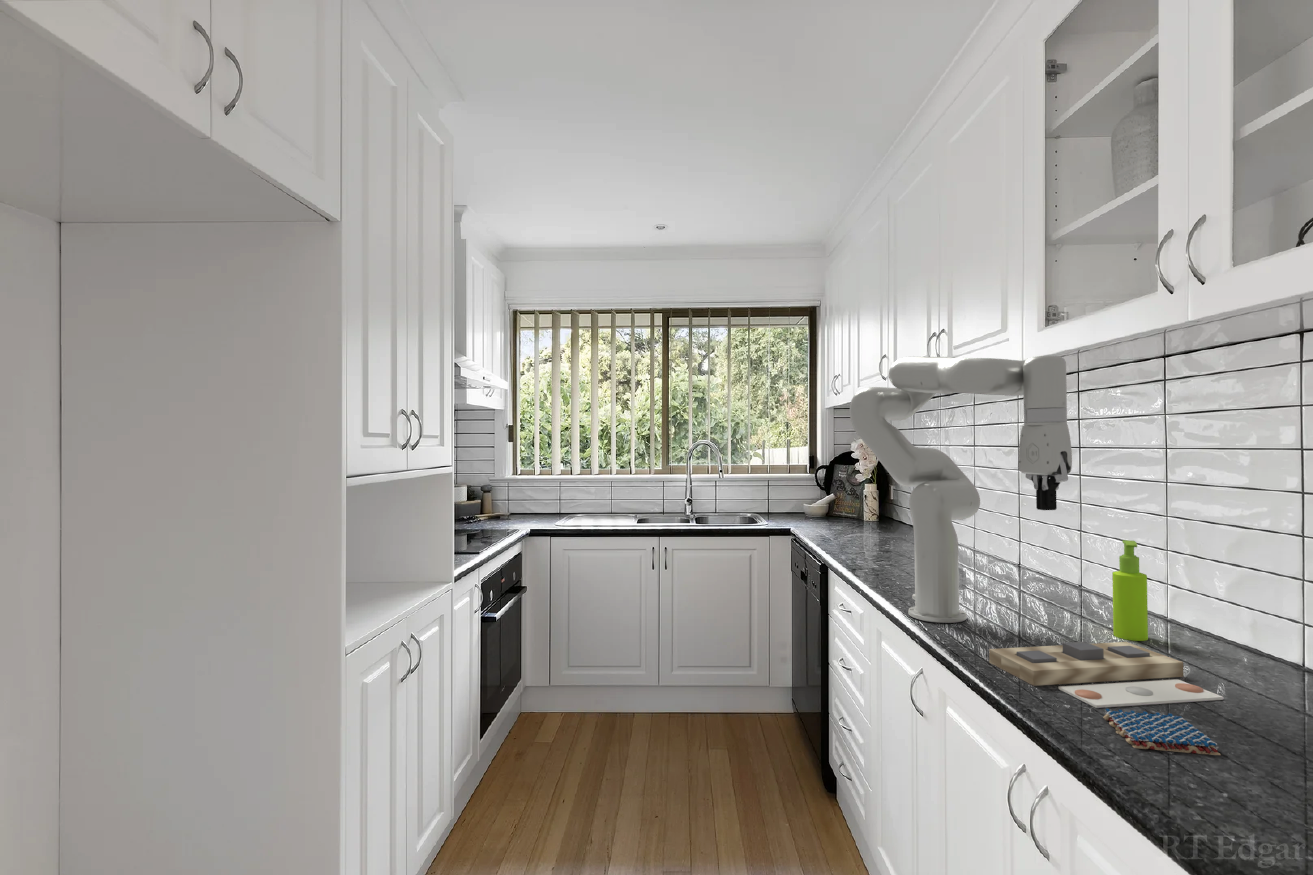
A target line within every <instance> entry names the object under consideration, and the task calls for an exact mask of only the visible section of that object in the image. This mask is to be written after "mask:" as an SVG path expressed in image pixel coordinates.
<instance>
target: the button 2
mask: <svg viewBox="0 0 1313 875" xmlns="http://www.w3.org/2000/svg"><path fill="white" fill-rule="evenodd" d="M1092 644H1093V643H1089V642H1087V641H1075V642H1073V641H1072V642H1071V641H1070V642H1062V645H1063V653H1064V654H1066V655H1069V656H1071V657H1073V658H1076V659H1078V660H1080V661H1082V660H1100V659H1104V650H1103V649H1102V648H1100V647H1097V646H1095V645H1092Z"/></svg>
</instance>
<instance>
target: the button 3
mask: <svg viewBox="0 0 1313 875" xmlns="http://www.w3.org/2000/svg"><path fill="white" fill-rule="evenodd" d="M1108 651H1110V652H1113V653H1116V654H1118V655H1121V656H1123V657H1126V658H1135V657H1150V653H1148V652H1146V651H1143V650H1140V649H1137V648H1135V647H1132V646H1112V647H1108Z"/></svg>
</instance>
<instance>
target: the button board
mask: <svg viewBox="0 0 1313 875" xmlns="http://www.w3.org/2000/svg"><path fill="white" fill-rule="evenodd" d="M1091 644H1092V645H1095V646H1097V647H1100V648H1102V649H1103V650H1104V659H1100V660H1082V661H1080V660H1078V659H1076V658H1073V657H1071V656H1069V655H1066V654H1064V653H1063V645H1060V644H1059V645H1044V646H1039V645H1037V646H1024V647H1023V646H1022V647H1019V646H1018V647H1004V648H1001V647H1000V648H989V650H988V652H989V653H988V657H989V660H988V662H989V664H991V665H993V666H994V667H997V668H998V669H1000V670H1003V671H1004V672H1006V673H1008V674H1010V675H1013V676H1014V677H1016V678H1018V679H1020V680H1022V681H1024V682H1025V683H1027V684H1029V685H1030V686H1034V687H1035V686H1037V687H1038V686H1052V685H1068V684H1069V685H1071V684H1082V683H1083V684H1086V683H1100V682H1101V683H1103V682H1117V681H1118V682H1119V681H1121V682H1122V681H1132V680H1134V681H1135V680H1136V681H1137V680H1150V679H1151V680H1152V679H1153V680H1154V679H1166V678H1167V679H1168V678H1182V677H1184V661H1182V660H1178V659H1176V658H1172V657H1169V656H1167V655H1164V654H1162V653H1158V652H1156V651H1153V650H1150V649H1147V648H1144V647H1142V646H1139V645H1136V644H1134V643H1130V642H1128V641H1116V642H1100V643H1099V642H1098V643H1091ZM1112 646H1132V647H1135V648H1137V649H1140V650H1143V651H1146V652H1148V653H1150V657H1135V658H1126V657H1123V656H1121V655H1118V654H1116V653H1113V652H1110V651H1108V647H1112ZM1038 650H1039V651H1042V652H1044V653H1046V654H1048V655H1051V656H1053V657H1055V658H1057V662H1046V663H1031V662H1029V661H1027V660H1025V659H1023V658H1021V657H1019V656H1017V652H1019V651H1038Z"/></svg>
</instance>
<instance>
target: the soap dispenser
mask: <svg viewBox="0 0 1313 875" xmlns="http://www.w3.org/2000/svg"><path fill="white" fill-rule="evenodd" d="M1122 543H1123V554H1122V555H1119V558H1118V559H1119V561H1118V562H1119V563H1118V564H1119V566H1118V567H1119V570H1117V571H1113V572H1112V575H1111V576H1112V623H1113V624H1112V626H1113V627H1112V628H1113V629H1112V631H1113V636H1114V637H1115V638H1118V639H1121V640H1127V641H1133V642H1134V641H1135V642H1145V641H1148V639H1149V621H1148V620H1149V618H1148V617H1149V615H1148V614H1149V613H1148V610H1149V609H1148V575H1147V574H1145V573H1144V572H1143V573H1142V572H1140V557H1139V556H1137V555H1135V548H1138V543H1137V542H1136V541H1135V540H1126V539H1124V540H1123V539H1122Z"/></svg>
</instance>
